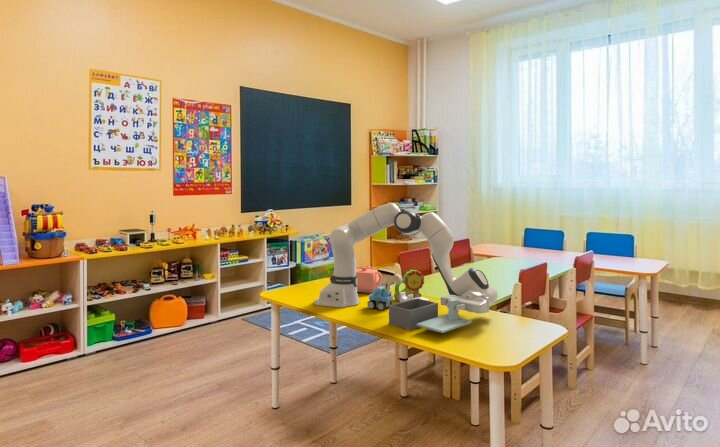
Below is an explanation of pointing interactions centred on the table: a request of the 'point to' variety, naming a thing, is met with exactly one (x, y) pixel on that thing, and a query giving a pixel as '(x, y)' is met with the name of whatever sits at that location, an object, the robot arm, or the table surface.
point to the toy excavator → (383, 294)
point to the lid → (445, 320)
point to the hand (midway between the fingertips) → (452, 307)
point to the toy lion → (410, 284)
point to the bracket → (408, 297)
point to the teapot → (367, 279)
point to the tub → (412, 313)
